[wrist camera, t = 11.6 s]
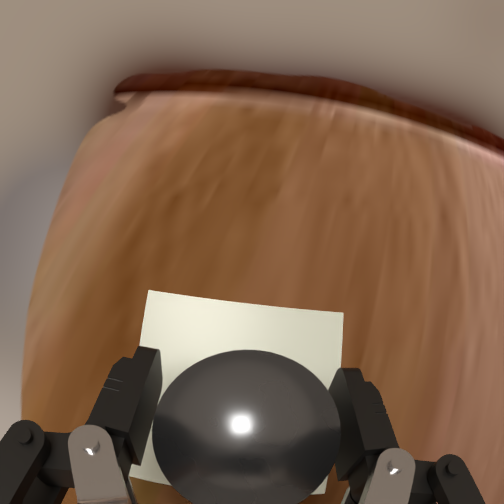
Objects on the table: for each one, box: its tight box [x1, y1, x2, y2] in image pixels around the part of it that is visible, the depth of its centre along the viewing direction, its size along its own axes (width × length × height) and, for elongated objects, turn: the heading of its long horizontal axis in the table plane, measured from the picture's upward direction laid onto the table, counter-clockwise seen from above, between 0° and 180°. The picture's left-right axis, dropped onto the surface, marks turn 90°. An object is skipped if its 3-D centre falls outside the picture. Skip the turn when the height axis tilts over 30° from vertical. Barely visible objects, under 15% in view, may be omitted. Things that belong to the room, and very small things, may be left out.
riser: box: [129, 290, 343, 494], centre depth 16 cm, size 11×11×3 cm
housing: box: [152, 350, 341, 504], centre depth 11 cm, size 5×5×8 cm
